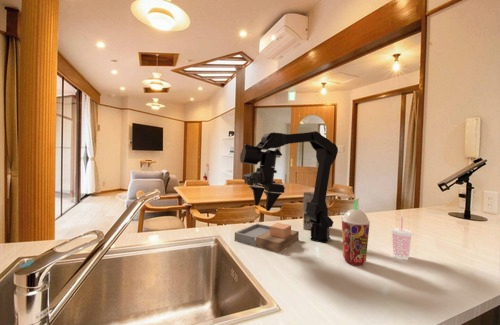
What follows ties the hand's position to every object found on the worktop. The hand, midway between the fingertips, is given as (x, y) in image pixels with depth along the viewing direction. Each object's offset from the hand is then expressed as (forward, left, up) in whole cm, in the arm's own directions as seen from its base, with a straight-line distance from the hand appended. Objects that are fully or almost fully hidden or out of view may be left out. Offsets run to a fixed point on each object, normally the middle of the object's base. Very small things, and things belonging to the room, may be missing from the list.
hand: (261, 208), depth 90 cm
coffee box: (-5, -35, -15) cm, 39 cm away
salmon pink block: (-4, -7, -11) cm, 14 cm away
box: (+7, -7, -15) cm, 18 cm away
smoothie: (-31, -7, -15) cm, 35 cm away
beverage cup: (-43, -21, -15) cm, 50 cm away
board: (-3, -7, -15) cm, 17 cm away
